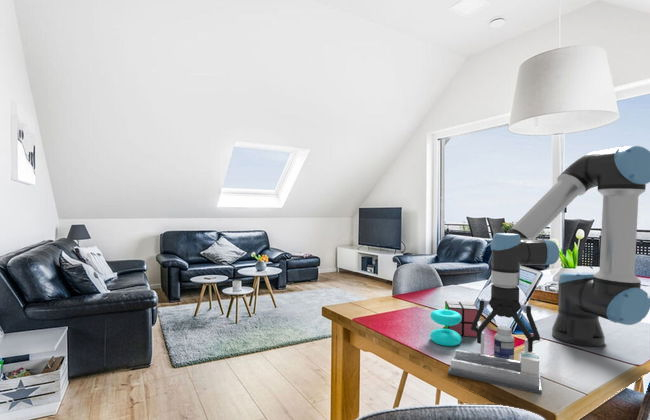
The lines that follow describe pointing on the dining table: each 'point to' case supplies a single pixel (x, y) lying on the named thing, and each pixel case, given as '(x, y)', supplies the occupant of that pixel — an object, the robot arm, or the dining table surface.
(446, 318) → the donuts
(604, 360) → the dining table surface
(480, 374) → the rail plate
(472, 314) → the puzzle cube
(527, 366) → the block
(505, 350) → the pill bottle
